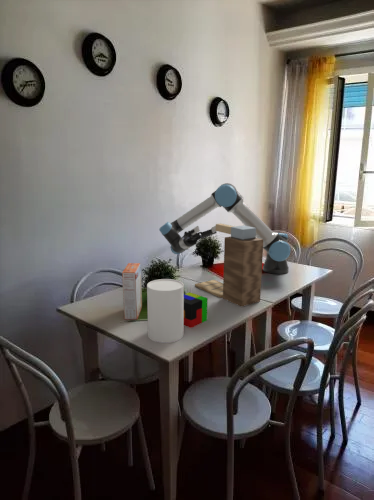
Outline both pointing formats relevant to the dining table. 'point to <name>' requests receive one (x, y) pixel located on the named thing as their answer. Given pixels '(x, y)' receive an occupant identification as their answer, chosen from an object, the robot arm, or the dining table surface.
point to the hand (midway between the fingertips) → (209, 227)
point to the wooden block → (242, 270)
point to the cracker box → (132, 291)
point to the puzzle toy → (194, 309)
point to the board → (212, 287)
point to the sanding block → (237, 231)
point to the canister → (165, 310)
